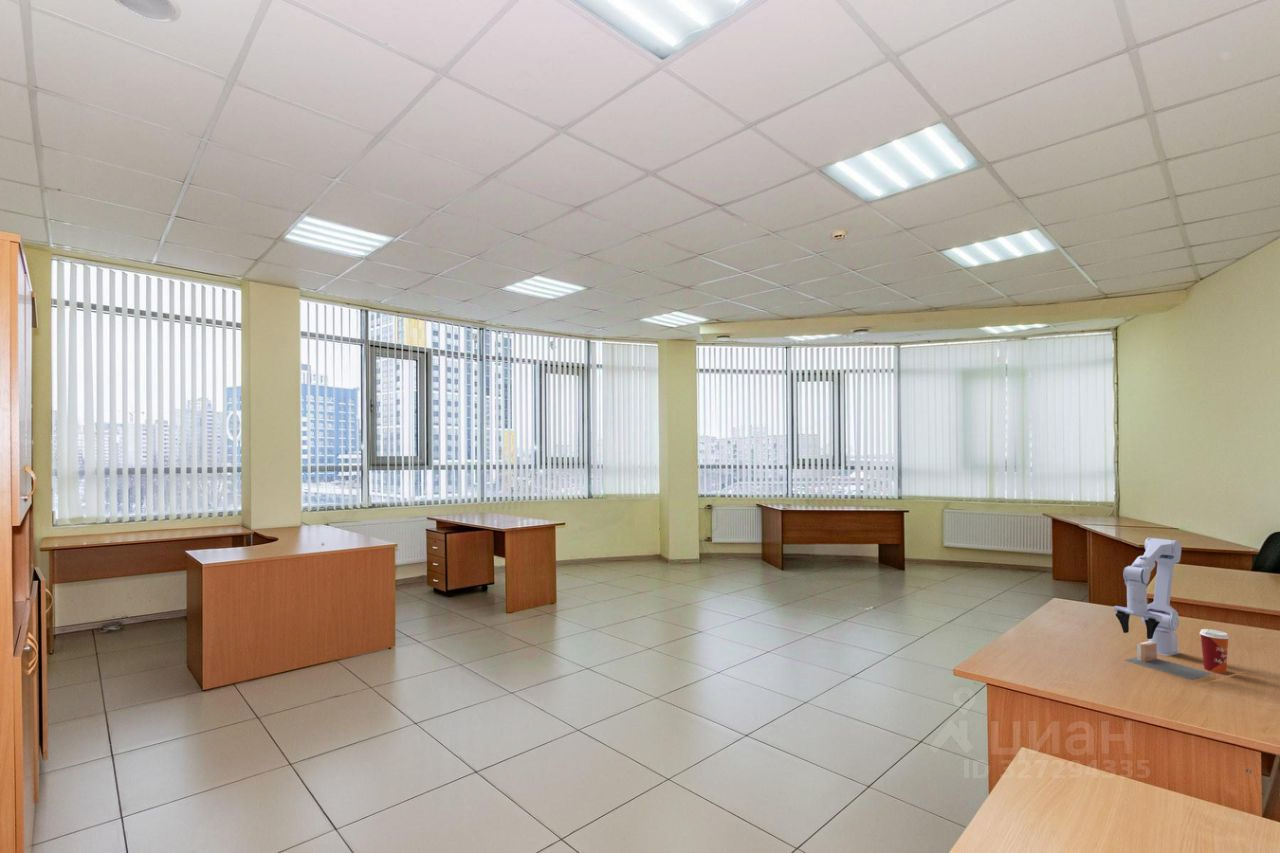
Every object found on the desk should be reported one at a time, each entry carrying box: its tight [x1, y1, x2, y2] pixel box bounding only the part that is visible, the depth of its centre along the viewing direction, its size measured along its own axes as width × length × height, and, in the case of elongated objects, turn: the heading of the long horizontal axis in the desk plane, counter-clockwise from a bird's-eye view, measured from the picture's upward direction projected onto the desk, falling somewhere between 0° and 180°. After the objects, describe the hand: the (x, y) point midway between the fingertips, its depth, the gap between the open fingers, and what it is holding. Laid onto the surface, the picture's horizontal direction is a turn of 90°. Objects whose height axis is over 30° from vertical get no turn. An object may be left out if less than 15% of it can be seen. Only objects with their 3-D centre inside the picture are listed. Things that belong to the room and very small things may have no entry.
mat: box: [1124, 656, 1213, 681], centre depth 214 cm, size 14×20×1 cm
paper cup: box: [1199, 628, 1230, 674], centre depth 212 cm, size 8×8×14 cm
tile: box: [1136, 640, 1158, 662], centre depth 222 cm, size 8×2×6 cm, turn 114°
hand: (1137, 635), depth 221 cm, fingers open, 7 cm apart
